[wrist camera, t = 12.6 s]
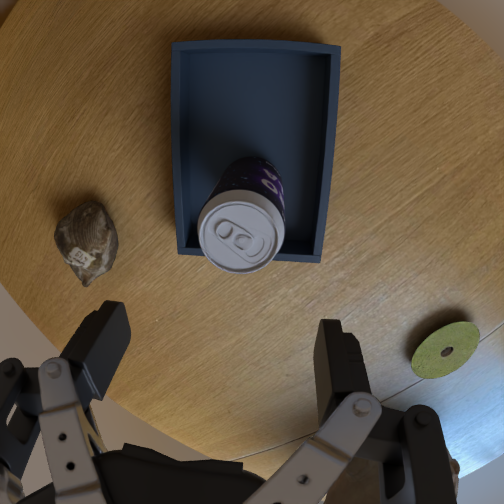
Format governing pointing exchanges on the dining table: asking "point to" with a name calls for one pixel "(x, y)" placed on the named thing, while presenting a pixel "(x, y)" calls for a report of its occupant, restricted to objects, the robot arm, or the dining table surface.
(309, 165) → the dark blue tray
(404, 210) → the dining table surface
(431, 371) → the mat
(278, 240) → the beverage can
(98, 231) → the fossilized seashell
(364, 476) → the bowl
